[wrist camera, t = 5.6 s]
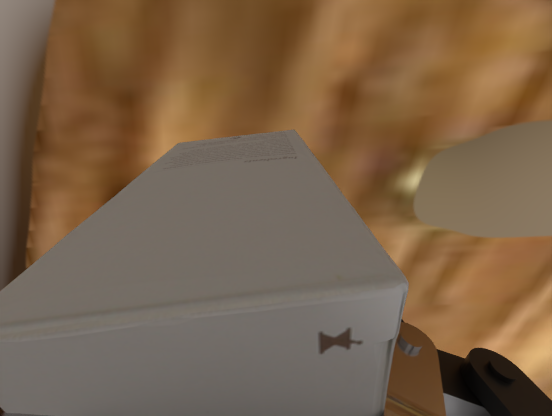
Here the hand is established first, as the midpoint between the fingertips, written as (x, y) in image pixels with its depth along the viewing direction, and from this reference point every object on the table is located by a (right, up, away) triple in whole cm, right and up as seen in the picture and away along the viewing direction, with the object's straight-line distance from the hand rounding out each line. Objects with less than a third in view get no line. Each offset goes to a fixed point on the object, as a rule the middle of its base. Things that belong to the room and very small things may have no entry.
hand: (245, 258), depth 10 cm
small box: (0, +2, +4) cm, 4 cm away
